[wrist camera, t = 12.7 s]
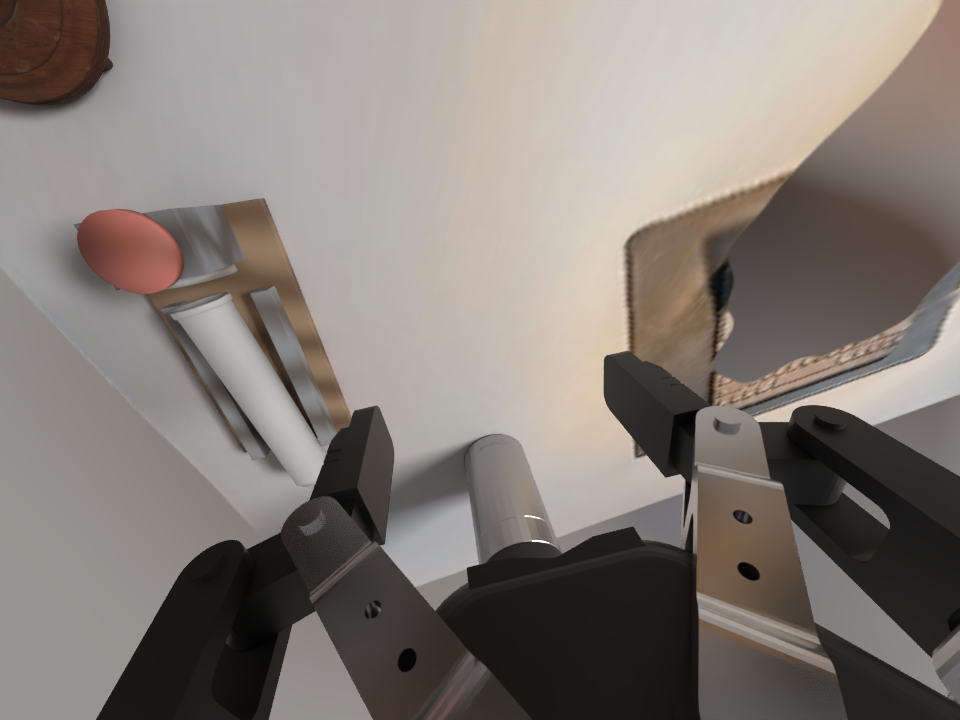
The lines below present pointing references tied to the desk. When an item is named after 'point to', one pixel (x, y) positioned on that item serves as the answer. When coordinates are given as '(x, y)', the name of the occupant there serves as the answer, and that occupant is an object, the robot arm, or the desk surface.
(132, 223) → the pipe rack
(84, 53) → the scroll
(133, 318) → the desk surface
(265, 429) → the tube
